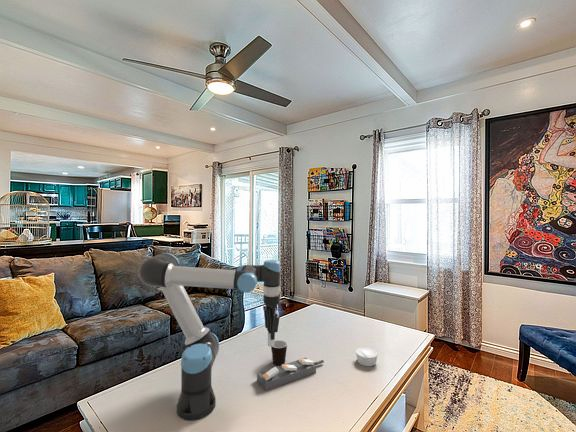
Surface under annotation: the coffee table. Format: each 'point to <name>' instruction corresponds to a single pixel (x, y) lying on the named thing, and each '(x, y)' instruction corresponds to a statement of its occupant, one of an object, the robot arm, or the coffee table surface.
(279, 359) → the coffee mug
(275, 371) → the block
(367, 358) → the ramekin
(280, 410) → the coffee table surface
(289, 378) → the power strip
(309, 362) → the block
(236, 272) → the robot arm
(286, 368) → the rocker
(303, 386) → the coffee table surface
